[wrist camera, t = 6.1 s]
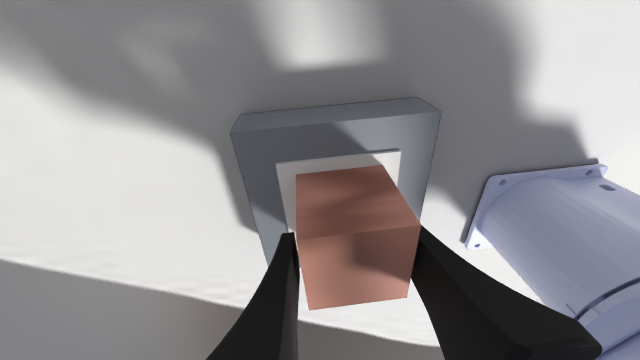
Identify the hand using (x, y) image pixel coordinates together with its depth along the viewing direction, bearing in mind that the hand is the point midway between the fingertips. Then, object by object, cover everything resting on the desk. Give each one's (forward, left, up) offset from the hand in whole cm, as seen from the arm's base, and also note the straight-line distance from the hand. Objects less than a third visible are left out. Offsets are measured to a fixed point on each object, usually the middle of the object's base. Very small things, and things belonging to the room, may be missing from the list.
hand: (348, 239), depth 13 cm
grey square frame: (0, 0, -6) cm, 6 cm away
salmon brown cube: (0, 0, -3) cm, 3 cm away
